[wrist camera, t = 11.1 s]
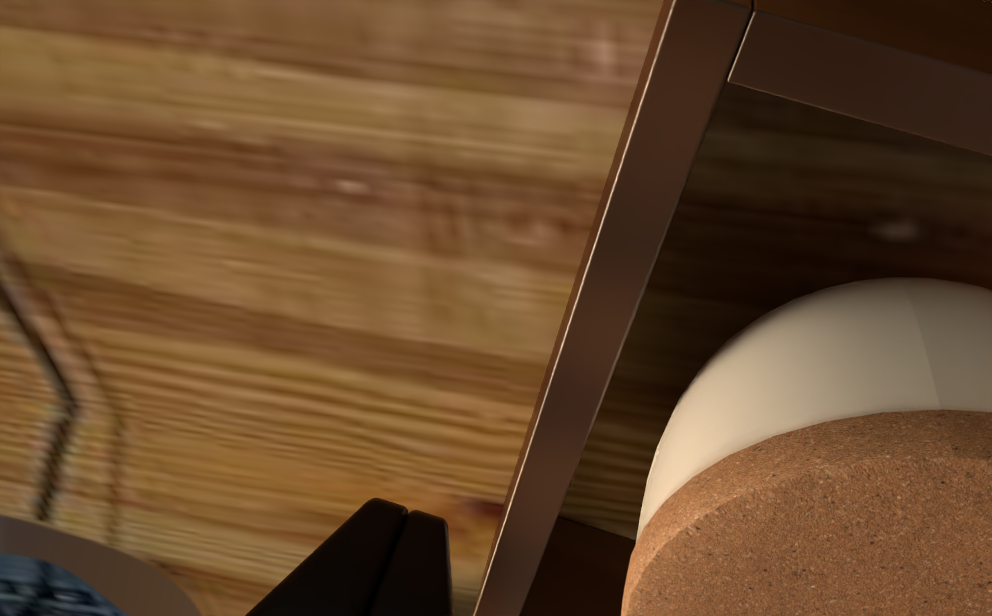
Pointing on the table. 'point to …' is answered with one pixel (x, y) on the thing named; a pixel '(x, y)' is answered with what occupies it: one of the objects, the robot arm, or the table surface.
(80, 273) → the table surface
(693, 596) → the trinket box
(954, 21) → the walnut bay
